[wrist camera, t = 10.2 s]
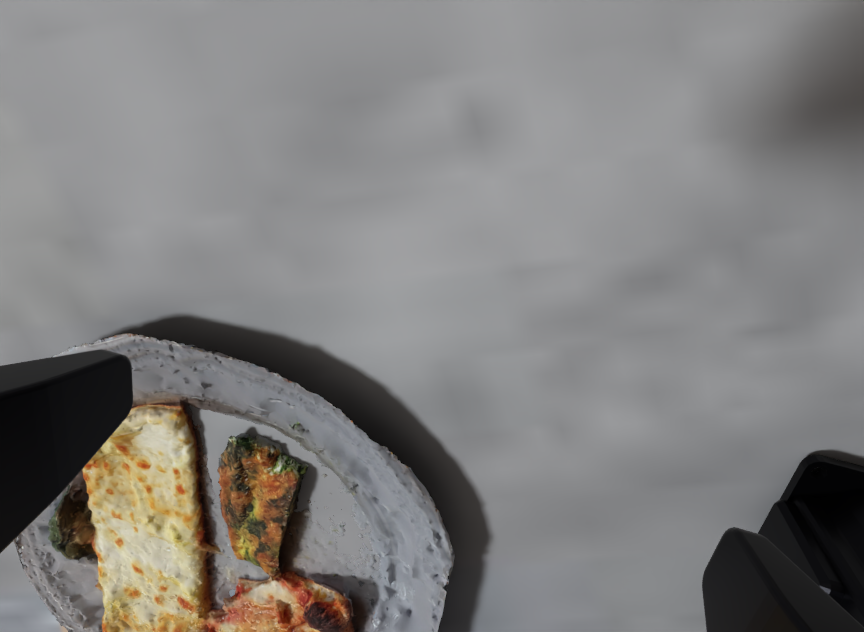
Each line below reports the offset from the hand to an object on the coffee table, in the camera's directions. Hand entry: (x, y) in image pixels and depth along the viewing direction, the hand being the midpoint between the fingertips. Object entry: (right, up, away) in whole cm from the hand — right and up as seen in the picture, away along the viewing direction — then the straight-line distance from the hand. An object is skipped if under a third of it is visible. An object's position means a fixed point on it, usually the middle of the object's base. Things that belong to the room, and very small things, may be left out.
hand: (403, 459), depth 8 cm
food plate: (-10, -10, +21) cm, 25 cm away
